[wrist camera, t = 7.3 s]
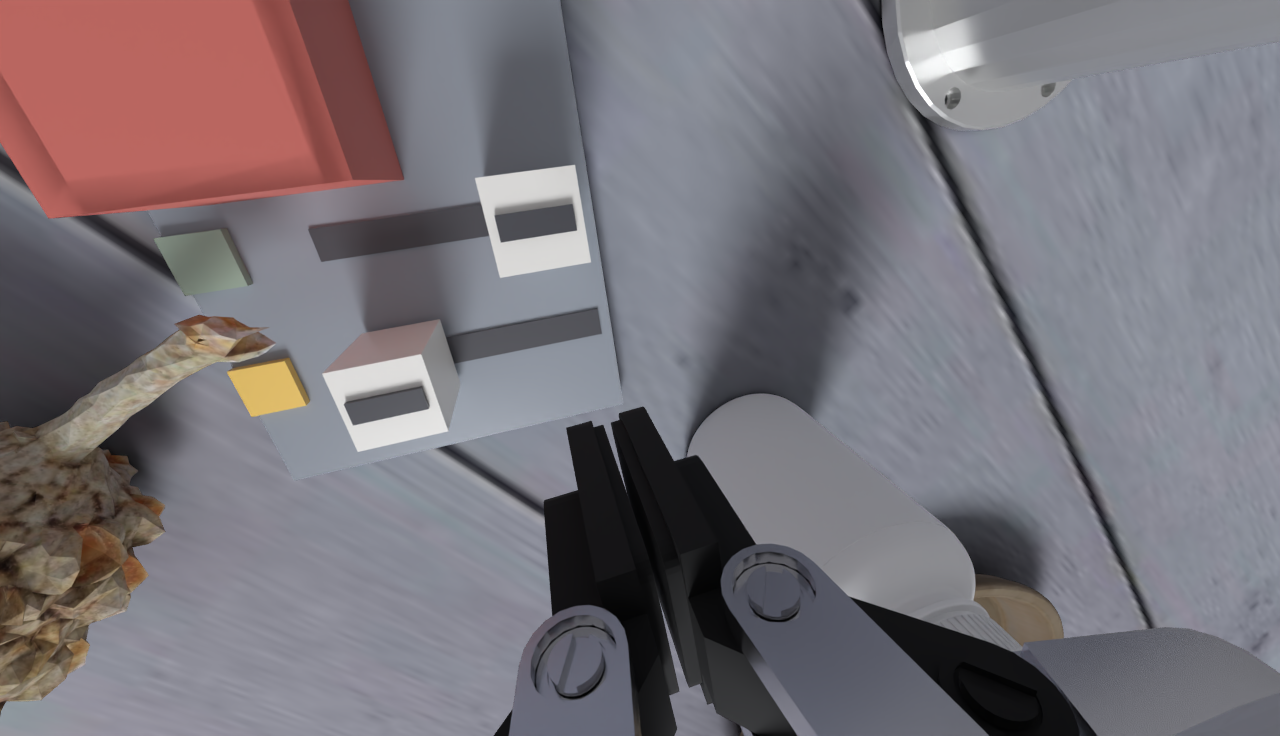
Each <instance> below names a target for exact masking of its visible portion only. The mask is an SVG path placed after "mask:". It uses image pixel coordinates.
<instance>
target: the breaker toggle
mask: <svg viewBox="0 0 1280 736" xmlns="http://www.w3.org/2000/svg"><path fill="white" fill-rule="evenodd" d="M322 375H323V377H324V379H325V381H326V384H327V386H328V388H329V390H330V392H331V394H332V397H333V399H334V401H335V403H336V405H337V408H338V410H339V412H340V414H341V416H342V419H343V421H344V423H345V425H346V427H347V429H348V432H349V434H350V436H351V438H352V440H353V443H354V445H355V447H356V449H357V451H358V452H360V451H365V450H369V449H373V448H378V447H382V446H386V445H391V444H395V443H400V442H404V441H408V440H413V439H417V438H421V437H426V436H430V435H435V434H439V433H443V432H448V430H449V427H450V423H451V419H452V415H453V411H454V407H455V404H456V400H457V396H458V392H459V388H460V384H461V383H460V380H459V377H458V374H457V371H456V368H455V365H454V362H453V358H452V355H451V352H450V349H449V346H448V343H447V340H446V337H445V333H444V330H443V327H442V324H441V321H440V319H437V320H432V321H426V322H421V323H416V324H410V325H405V326H399V327H394V328H389V329H383V330H378V331H372V332H367V333H362V334H361V335H360V336H359V337H358V338H357V339H356V340H355V341H354V342H353V343H352V344H351V345H350V346H349V347H348V348H347V349H346V350H345V351H344V352H343V353H342V354H341V355H340V356H339V357H338V358H337V359H336V360H335V361H334V362H333V363H332V364H331V365H330V366H329V367H328V368H327V369H326V370H325V371H324V372H323V373H322Z"/></svg>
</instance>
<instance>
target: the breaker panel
mask: <svg viewBox="0 0 1280 736" xmlns="http://www.w3.org/2000/svg"><path fill="white" fill-rule="evenodd" d="M348 1H349V4H350V8H351V11H352V14H353V17H354V20H355V24H356V27H357V30H358V33H359V36H360V40H361V43H362V46H363V49H364V52H365V56H366V59H367V62H368V65H369V68H370V72H371V75H372V78H373V81H374V84H375V88H376V91H377V94H378V97H379V100H380V104H381V107H382V110H383V113H384V116H385V120H386V123H387V126H388V129H389V132H390V136H391V139H392V142H393V145H394V148H395V152H396V155H397V158H398V161H399V164H400V168H401V171H402V174H403V177H404V180H400V181H393V182H385V183H377V184H369V185H362V186H354V187H346V188H338V189H331V190H323V191H315V192H307V193H300V194H292V195H284V196H276V197H269V198H261V199H253V200H245V201H238V202H230V203H222V204H214V205H205V206H193V207H181V208H169V209H157V210H147V212H148V213H149V215H150V217H151V219H152V221H153V223H154V224H155V226H156V228H157V230H158V232H159V234H160V235H161V237H160V238H154V241H155V243H156V245H157V246H158V248H159V250H160V252H161V254H162V255H163V257H164V259H165V261H166V263H167V264H168V266H169V268H170V270H171V272H172V274H173V275H174V277H175V279H176V281H177V283H178V284H179V286H180V288H181V290H182V292H183V293H184V295H185V296H189V295H193V296H194V298H195V300H196V302H197V303H198V305H199V307H200V309H201V311H202V313H203V314H204V316H207V317H212V316H218V317H233V318H235V319H236V320H237V321H239V322H241V323H243V324H245V325H246V326H248V327H270V328H267V329H264V330H261V331H259V332H260V333H261V334H263V335H265V336H266V337H268V338H269V339H271V340H272V341H274V342H276V344H275V345H274V346H273V347H272V348H270V349H269V350H268V351H267V352H266V353H264V354H262V355H260V356H258V357H255V358H251V359H248V360H244V361H241V362H230V364H231V366H232V369H231V370H229V371H228V372H227V373H228V375H229V377H230V379H231V380H232V382H233V384H234V386H235V388H236V389H237V391H238V393H239V395H240V397H241V398H242V400H243V402H244V404H245V406H246V408H247V409H248V411H249V413H250V415H251V417H254V416H259V417H260V419H261V421H262V423H263V425H264V427H265V428H266V430H267V432H268V434H269V436H270V438H271V439H272V441H273V443H274V445H275V447H276V449H277V450H278V452H279V454H280V456H281V458H282V460H283V461H284V463H285V465H286V467H287V469H288V471H289V472H290V474H291V476H292V478H293V480H294V481H296V480H300V479H305V478H309V477H313V476H318V475H322V474H326V473H330V472H335V471H339V470H343V469H348V468H352V467H356V466H360V465H365V464H369V463H373V462H378V461H382V460H386V459H390V458H395V457H399V456H403V455H408V454H412V453H416V452H420V451H425V450H429V449H433V448H437V447H442V446H446V445H450V444H455V443H459V442H463V441H467V440H472V439H476V438H480V437H485V436H489V435H493V434H497V433H502V432H506V431H510V430H515V429H519V428H523V427H527V426H532V425H536V424H540V423H545V422H549V421H553V420H557V419H562V418H566V417H570V416H575V415H579V414H583V413H587V412H592V411H596V410H600V409H604V408H609V407H613V406H617V405H622V404H623V398H622V392H621V385H620V379H619V373H618V366H617V360H616V353H615V347H614V341H613V334H612V328H611V322H610V315H609V309H608V302H607V296H606V290H605V283H604V277H603V271H602V264H601V258H600V251H599V245H598V239H597V232H596V226H595V220H594V213H593V207H592V200H591V194H590V188H589V181H588V175H587V169H586V162H585V156H584V150H583V143H582V137H581V130H580V124H579V118H578V111H577V105H576V99H575V92H574V86H573V79H572V73H571V67H570V60H569V54H568V48H567V41H566V35H565V28H564V22H563V16H562V9H561V3H560V0H348ZM437 319H440V321H441V324H442V327H443V330H444V333H445V337H446V340H447V343H448V346H449V349H450V352H451V355H452V358H453V362H454V365H455V368H456V371H457V374H458V377H459V380H460V383H461V384H460V388H459V392H458V396H457V400H456V404H455V407H454V411H453V415H452V419H451V423H450V427H449V430H448V432H443V433H439V434H435V435H430V436H426V437H421V438H417V439H413V440H408V441H404V442H400V443H395V444H391V445H386V446H382V447H378V448H373V449H369V450H365V451H360V452H358V451H357V449H356V447H355V445H354V443H353V440H352V438H351V436H350V434H349V432H348V429H347V427H346V425H345V423H344V421H343V419H342V416H341V414H340V412H339V410H338V408H337V405H336V403H335V401H334V399H333V397H332V394H331V392H330V390H329V388H328V386H327V384H326V381H325V379H324V377H323V375H322V373H323V372H324V371H325V370H326V369H327V368H328V367H329V366H330V365H331V364H332V363H333V362H334V361H335V360H336V359H337V358H338V357H339V356H340V355H341V354H342V353H343V352H344V351H345V350H346V349H347V348H348V347H349V346H350V345H351V344H352V343H353V342H354V341H355V340H356V339H357V338H358V337H359V336H360V335H361V334H362V333H367V332H372V331H378V330H383V329H389V328H394V327H399V326H405V325H410V324H416V323H421V322H426V321H432V320H437Z"/></svg>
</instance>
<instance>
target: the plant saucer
mask: <svg viewBox="0 0 1280 736" xmlns="http://www.w3.org/2000/svg"><path fill="white" fill-rule="evenodd" d="M973 601H975V602H977V603H978V604H980V605H981V606H982V607H983V608H984V609H985V610H986V611H987V613H988V614H989V617H990V618H991V619H993V620H994V621H995V622H996V623H997V624H998V625H1000V626H1001V627H1002V628H1003V629H1004V630H1005V631H1006V632H1007V633H1008V634H1009V635H1010V636H1011V637H1012V638H1013V639H1014V640H1015V641H1017V642H1018V643H1019V644H1020V645H1021V646H1022V647H1023V644H1024V642H1034V641H1043V640H1052V639H1062V638H1064V633H1063V626H1062V622H1061V619H1060V616H1059V614H1058V612H1057V611H1056V609H1055V608H1054V606H1053V605H1052V604H1051V602H1050V601H1049V600H1048V599H1047V598H1045V597H1044V596H1043V595H1042V594H1040V593H1039V592H1037V591H1036V590H1034V589H1032V588H1030V587H1028V586H1025V585H1023V584H1020V583H1018V582H1014V581H1010V580H1006V579H1003V578H999V577H996V576H991V575H983V574H975V595H974V600H973ZM740 736H744V734H743V731H741V733H740Z"/></svg>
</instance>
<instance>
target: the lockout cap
mask: <svg viewBox="0 0 1280 736" xmlns="http://www.w3.org/2000/svg"><path fill="white" fill-rule="evenodd" d="M0 143H1V144H2V146H3V147H4V149H5V150H6V152H7V154H8V155H9V157H10V158H11V160H12V161H13V163H14V165H15V166H16V168H17V169H18V171H19V173H20V174H21V176H22V177H23V179H24V180H25V182H26V184H27V185H28V187H29V188H30V190H31V191H32V193H33V195H34V196H35V198H36V199H37V201H38V203H39V204H40V206H41V207H42V209H43V210H44V212H45V214H46V215H47V217H48V218H61V217H73V216H85V215H97V214H109V213H121V212H133V211H145V210H157V209H169V208H181V207H193V206H205V205H214V204H222V203H230V202H238V201H245V200H253V199H261V198H269V197H276V196H284V195H292V194H300V193H307V192H315V191H323V190H331V189H338V188H346V187H354V186H362V185H369V184H377V183H385V182H393V181H400V180H404V177H403V174H402V171H401V168H400V164H399V161H398V158H397V155H396V152H395V148H394V145H393V142H392V139H391V136H390V132H389V129H388V126H387V123H386V120H385V116H384V113H383V110H382V107H381V104H380V100H379V97H378V94H377V91H376V88H375V84H374V81H373V78H372V75H371V72H370V68H369V65H368V62H367V59H366V56H365V52H364V49H363V46H362V43H361V40H360V36H359V33H358V30H357V27H356V24H355V20H354V17H353V14H352V11H351V8H350V4H349V1H348V0H0Z"/></svg>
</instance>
